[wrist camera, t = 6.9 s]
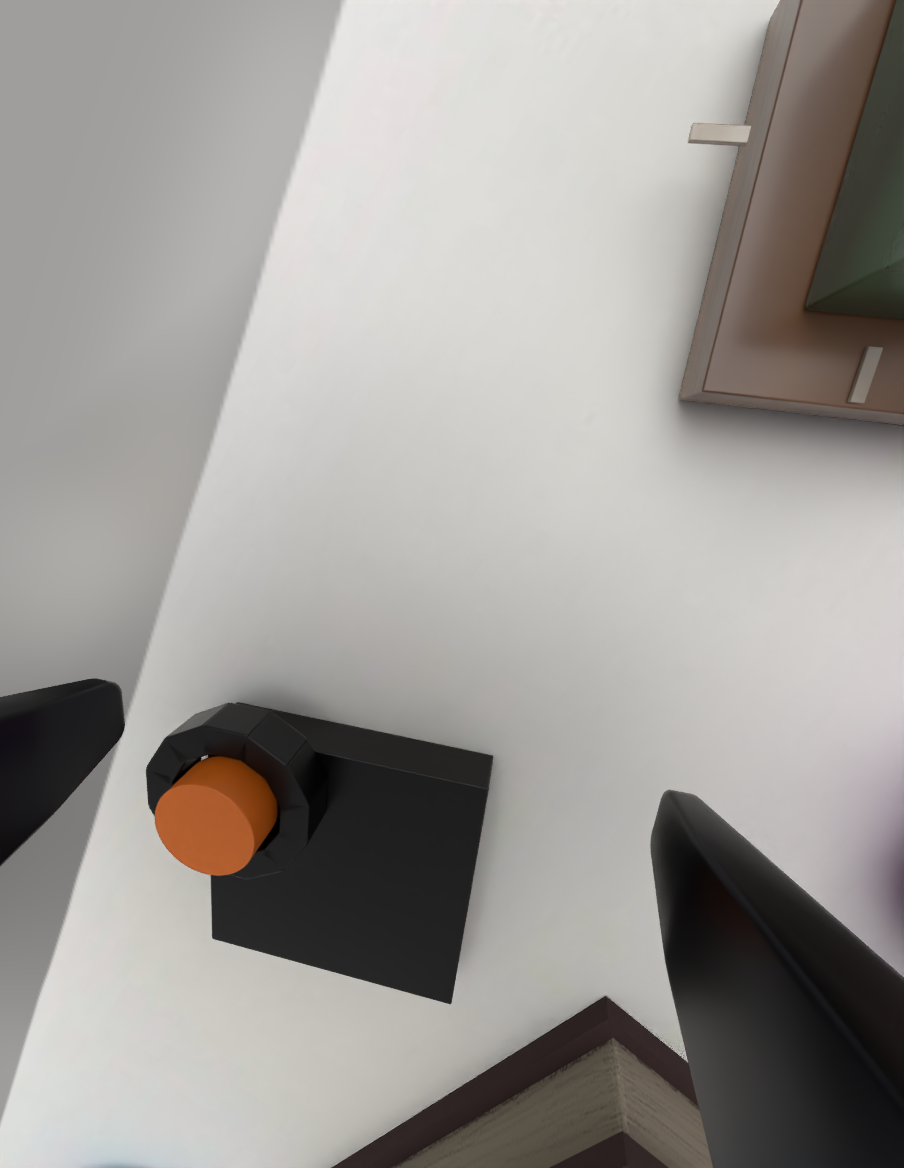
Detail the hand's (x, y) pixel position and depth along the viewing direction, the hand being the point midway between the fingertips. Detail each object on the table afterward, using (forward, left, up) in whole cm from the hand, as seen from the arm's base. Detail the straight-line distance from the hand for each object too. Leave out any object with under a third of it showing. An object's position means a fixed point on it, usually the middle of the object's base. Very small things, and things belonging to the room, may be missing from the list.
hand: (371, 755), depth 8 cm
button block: (-5, -13, -12) cm, 18 cm away
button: (-8, -10, -8) cm, 15 cm away
